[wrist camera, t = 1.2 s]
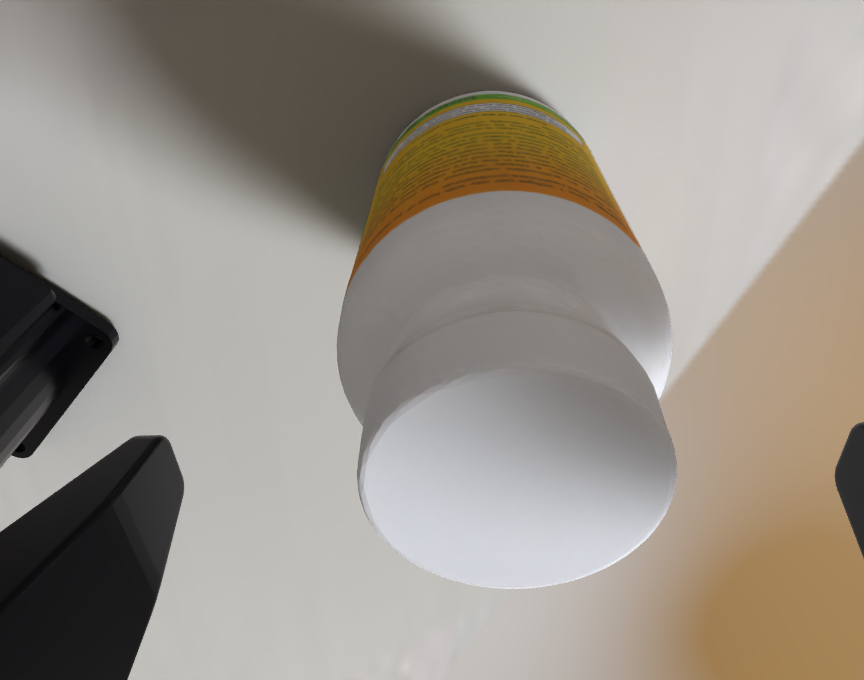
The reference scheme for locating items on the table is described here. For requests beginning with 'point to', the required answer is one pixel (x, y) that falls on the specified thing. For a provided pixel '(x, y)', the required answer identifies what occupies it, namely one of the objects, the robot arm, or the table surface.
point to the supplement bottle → (505, 352)
